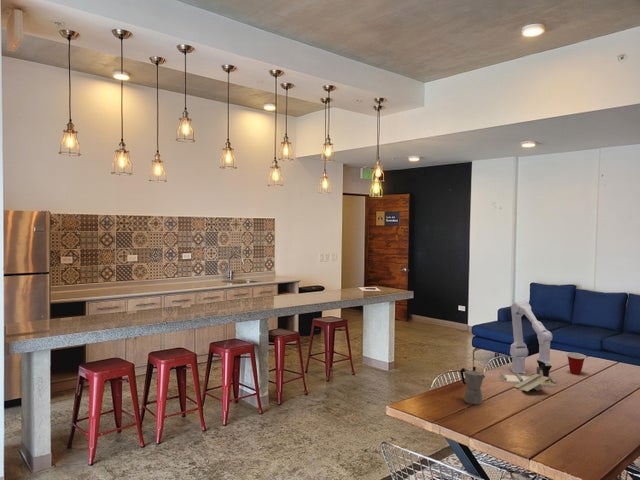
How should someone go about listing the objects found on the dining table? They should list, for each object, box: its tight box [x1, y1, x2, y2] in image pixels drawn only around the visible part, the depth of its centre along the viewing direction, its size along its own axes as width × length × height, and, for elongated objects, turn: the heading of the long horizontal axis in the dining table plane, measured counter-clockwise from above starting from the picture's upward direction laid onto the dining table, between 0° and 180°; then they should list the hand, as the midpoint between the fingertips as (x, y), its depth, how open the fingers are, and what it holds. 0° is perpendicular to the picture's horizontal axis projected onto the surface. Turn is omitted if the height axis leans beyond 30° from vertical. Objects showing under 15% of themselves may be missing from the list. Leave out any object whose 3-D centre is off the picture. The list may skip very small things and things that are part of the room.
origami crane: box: [513, 373, 549, 392], centre depth 268 cm, size 16×9×15 cm
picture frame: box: [535, 366, 550, 381], centre depth 283 cm, size 4×6×7 cm, turn 80°
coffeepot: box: [459, 366, 486, 405], centre depth 250 cm, size 15×9×18 cm, turn 33°
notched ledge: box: [499, 371, 557, 387], centre depth 285 cm, size 12×28×2 cm, turn 79°
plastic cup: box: [566, 352, 587, 376], centre depth 302 cm, size 11×11×12 cm
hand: (543, 374), depth 283 cm, fingers open, 7 cm apart
